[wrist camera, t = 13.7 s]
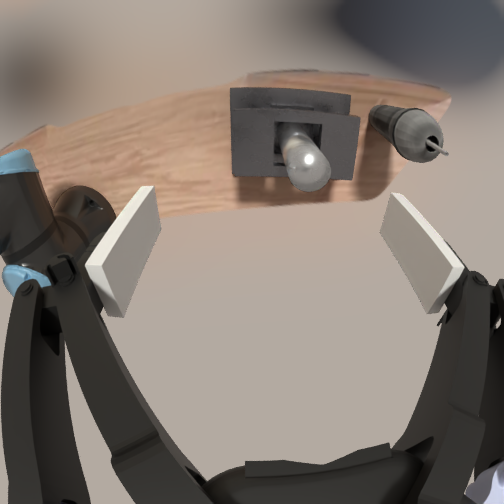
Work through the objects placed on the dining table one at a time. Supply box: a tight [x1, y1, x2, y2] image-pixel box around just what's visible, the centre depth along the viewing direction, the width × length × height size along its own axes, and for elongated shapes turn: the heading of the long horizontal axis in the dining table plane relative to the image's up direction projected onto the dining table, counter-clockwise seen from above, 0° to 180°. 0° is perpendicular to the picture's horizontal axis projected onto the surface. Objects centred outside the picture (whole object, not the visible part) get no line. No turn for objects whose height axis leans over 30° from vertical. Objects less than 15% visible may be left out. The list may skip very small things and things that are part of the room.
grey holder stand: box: [230, 87, 360, 180], centre depth 36 cm, size 18×14×8 cm
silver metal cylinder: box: [276, 122, 331, 192], centre depth 31 cm, size 4×4×18 cm
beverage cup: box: [369, 105, 449, 163], centre depth 29 cm, size 7×7×20 cm
